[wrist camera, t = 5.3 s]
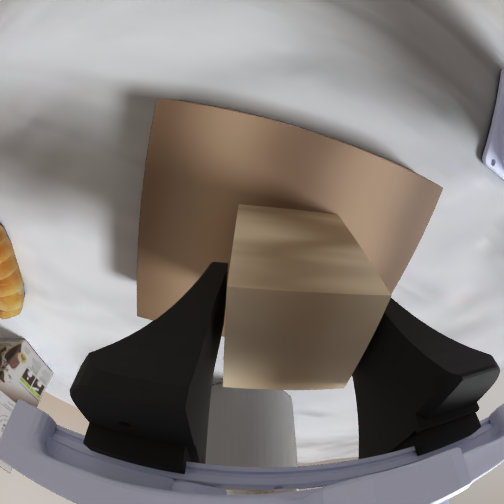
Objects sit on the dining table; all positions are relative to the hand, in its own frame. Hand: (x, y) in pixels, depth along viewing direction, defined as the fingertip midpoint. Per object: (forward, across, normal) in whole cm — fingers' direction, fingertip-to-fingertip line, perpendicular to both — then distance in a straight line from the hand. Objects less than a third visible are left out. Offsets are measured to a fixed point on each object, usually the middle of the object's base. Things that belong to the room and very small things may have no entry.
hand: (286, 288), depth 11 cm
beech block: (+2, 0, 0) cm, 2 cm away
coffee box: (+6, +30, +20) cm, 36 cm away
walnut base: (+5, 0, 0) cm, 5 cm away
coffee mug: (+6, +2, +20) cm, 21 cm away
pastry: (+6, +25, +5) cm, 26 cm away
